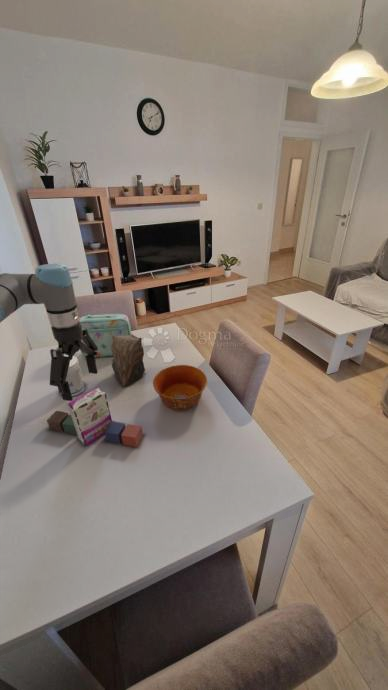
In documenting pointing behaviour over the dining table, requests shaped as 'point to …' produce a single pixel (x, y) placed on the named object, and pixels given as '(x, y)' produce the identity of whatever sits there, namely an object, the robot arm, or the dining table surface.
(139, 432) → the block
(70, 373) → the supplement tub
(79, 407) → the candy bar box
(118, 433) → the block
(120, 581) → the dining table surface
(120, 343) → the brown rock
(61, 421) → the block
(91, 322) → the lunch box
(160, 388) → the bowl
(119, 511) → the dining table surface
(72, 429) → the block
